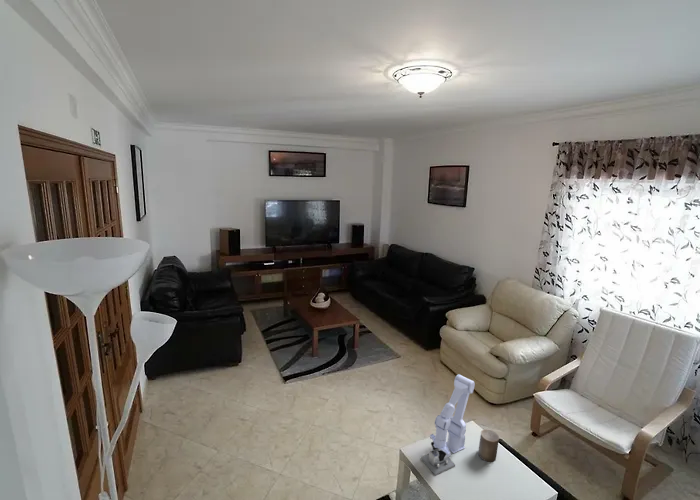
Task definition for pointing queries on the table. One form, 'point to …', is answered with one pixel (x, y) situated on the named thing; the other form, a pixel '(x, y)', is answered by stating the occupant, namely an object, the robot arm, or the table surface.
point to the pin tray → (438, 465)
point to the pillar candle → (488, 445)
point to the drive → (436, 457)
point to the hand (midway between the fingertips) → (438, 457)
